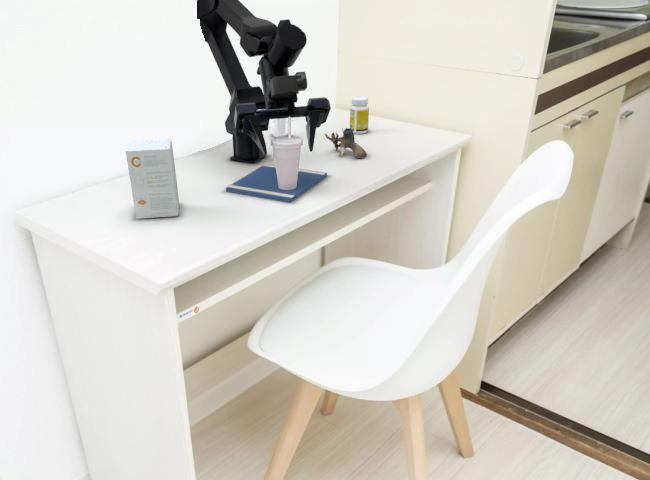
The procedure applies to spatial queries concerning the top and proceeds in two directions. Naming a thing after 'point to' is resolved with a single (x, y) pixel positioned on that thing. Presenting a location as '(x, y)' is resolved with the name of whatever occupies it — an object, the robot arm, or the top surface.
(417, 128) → the top surface
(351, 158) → the top surface
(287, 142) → the smoothie
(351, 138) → the eagle figurine
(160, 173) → the small box
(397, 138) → the top surface
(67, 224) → the top surface
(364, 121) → the supplement bottle
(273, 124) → the milkshake
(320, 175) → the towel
